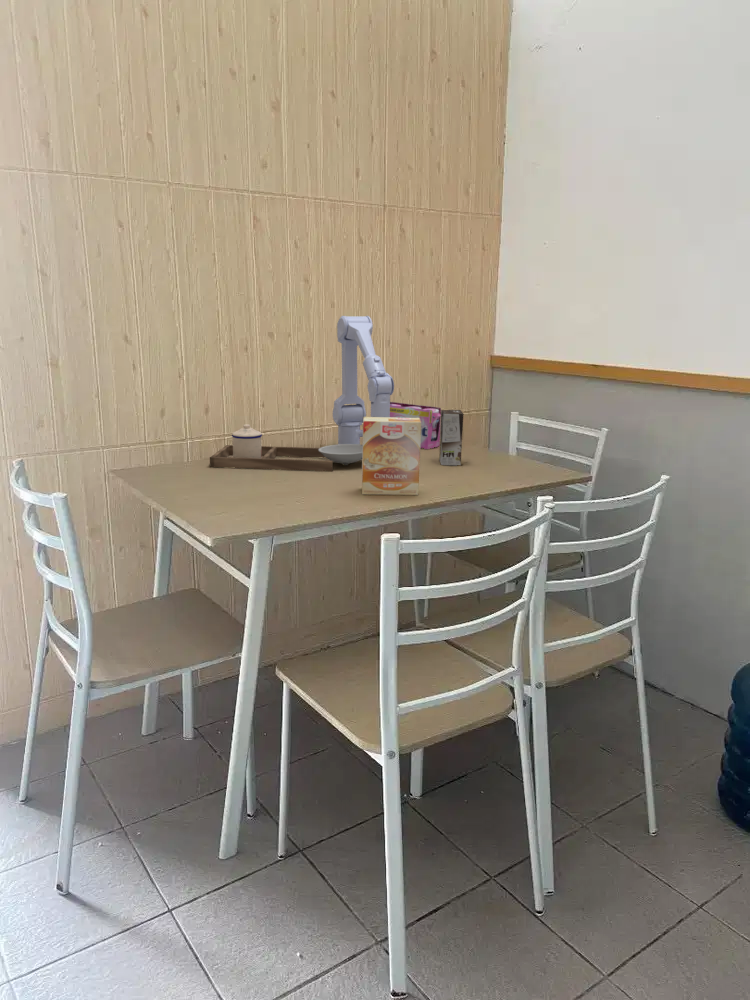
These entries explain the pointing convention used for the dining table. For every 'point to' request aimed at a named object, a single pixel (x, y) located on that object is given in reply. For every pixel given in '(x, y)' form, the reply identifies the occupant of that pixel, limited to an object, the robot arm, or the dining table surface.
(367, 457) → the coffeecake box
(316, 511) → the dining table surface
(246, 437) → the teacup with lid
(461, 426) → the coffee box
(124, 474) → the dining table surface
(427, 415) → the gum box
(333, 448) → the dish
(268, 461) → the caddy
